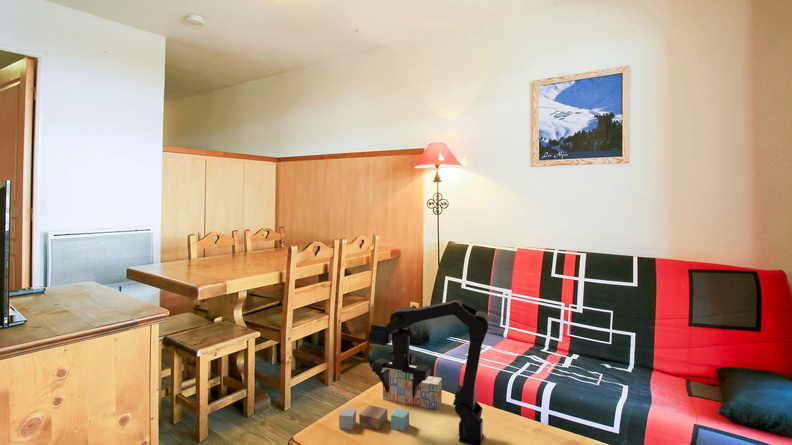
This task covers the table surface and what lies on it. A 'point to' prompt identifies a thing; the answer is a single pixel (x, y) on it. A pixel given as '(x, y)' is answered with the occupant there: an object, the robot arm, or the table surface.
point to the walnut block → (373, 417)
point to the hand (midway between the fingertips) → (400, 394)
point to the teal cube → (400, 419)
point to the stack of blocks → (402, 390)
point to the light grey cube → (347, 419)
